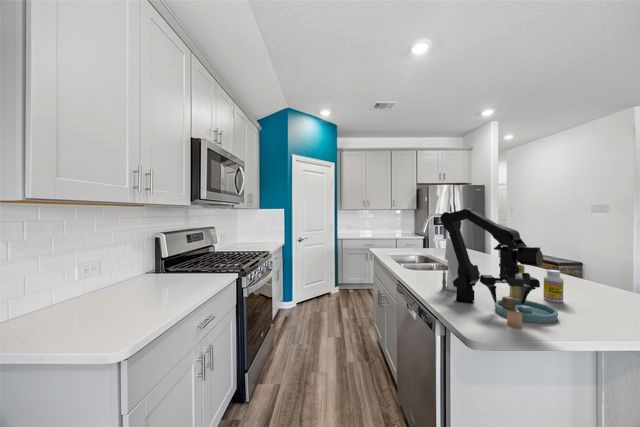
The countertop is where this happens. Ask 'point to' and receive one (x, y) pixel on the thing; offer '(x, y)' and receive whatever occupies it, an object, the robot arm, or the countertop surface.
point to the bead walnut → (508, 303)
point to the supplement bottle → (553, 286)
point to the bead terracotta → (514, 319)
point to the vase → (516, 291)
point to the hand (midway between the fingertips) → (508, 303)
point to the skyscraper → (450, 267)
